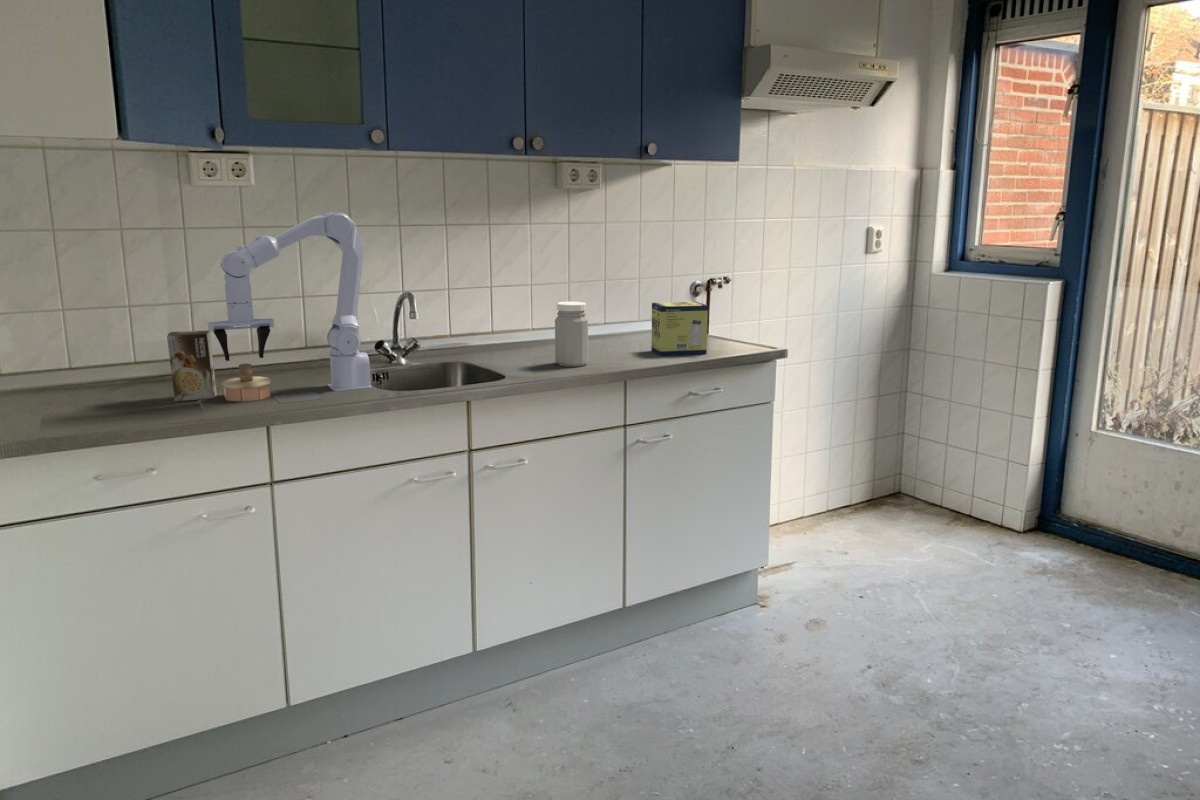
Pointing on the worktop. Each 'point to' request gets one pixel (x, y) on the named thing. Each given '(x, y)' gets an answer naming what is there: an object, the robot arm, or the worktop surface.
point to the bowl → (247, 394)
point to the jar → (571, 334)
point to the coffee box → (191, 365)
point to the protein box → (679, 328)
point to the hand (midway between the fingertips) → (244, 358)
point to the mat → (297, 397)
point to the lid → (246, 379)
